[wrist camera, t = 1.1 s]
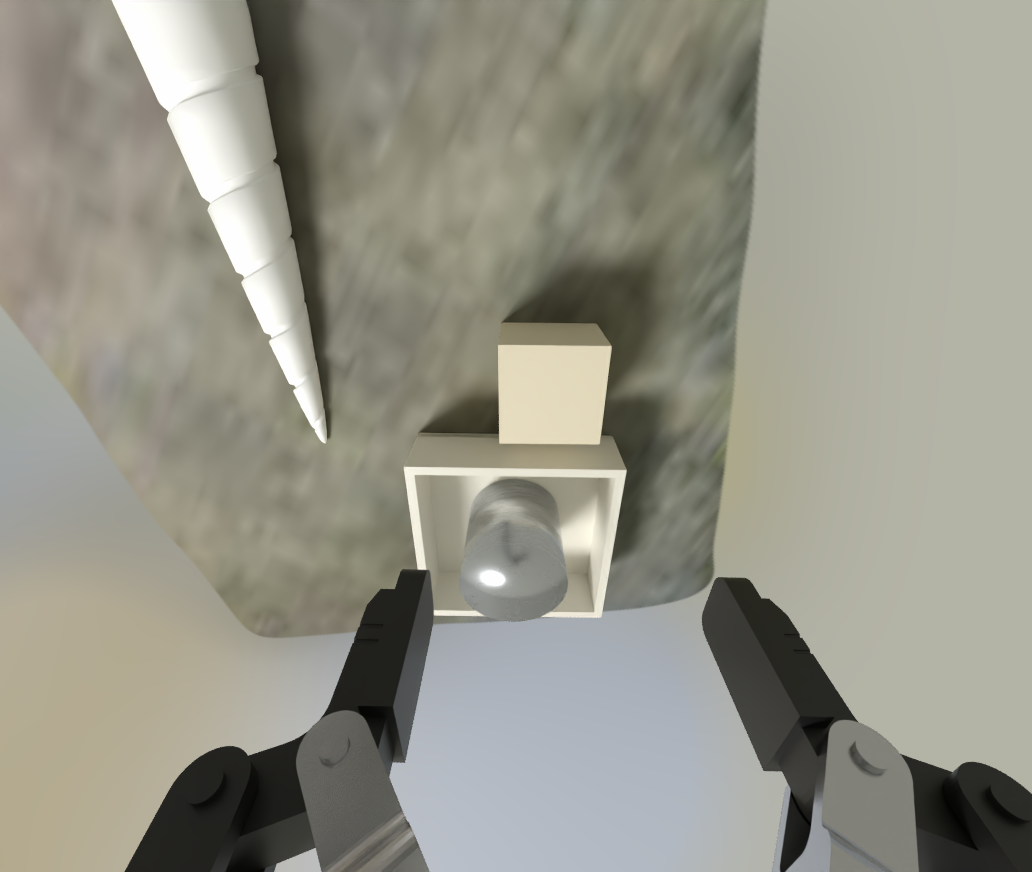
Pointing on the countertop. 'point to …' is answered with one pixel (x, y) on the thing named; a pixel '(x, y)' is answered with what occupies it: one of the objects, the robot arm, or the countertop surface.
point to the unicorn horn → (232, 161)
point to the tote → (482, 461)
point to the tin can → (513, 552)
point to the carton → (552, 382)
